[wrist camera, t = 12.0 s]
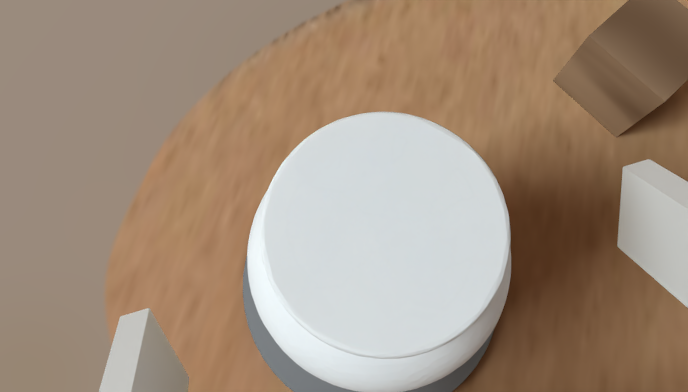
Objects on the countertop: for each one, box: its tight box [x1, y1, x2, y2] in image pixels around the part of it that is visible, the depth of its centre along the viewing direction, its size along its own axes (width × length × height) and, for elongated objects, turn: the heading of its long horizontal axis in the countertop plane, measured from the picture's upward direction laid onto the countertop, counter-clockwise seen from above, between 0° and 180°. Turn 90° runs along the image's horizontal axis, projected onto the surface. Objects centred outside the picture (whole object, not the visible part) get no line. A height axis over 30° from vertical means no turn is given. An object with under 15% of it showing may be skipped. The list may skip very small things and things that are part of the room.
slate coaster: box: [243, 257, 495, 392], centre depth 22 cm, size 11×11×1 cm
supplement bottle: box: [247, 112, 511, 392], centre depth 16 cm, size 7×7×13 cm
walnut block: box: [553, 0, 688, 137], centre depth 23 cm, size 4×4×4 cm
